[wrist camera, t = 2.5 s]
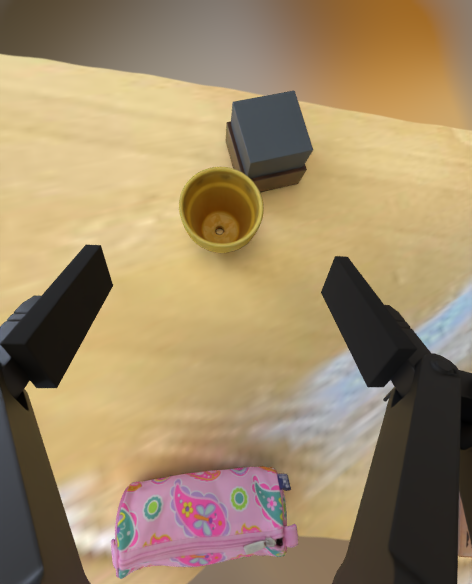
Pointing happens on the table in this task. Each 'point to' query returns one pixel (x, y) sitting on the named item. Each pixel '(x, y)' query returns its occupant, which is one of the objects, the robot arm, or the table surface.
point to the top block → (270, 134)
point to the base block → (267, 180)
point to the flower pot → (221, 209)
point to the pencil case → (202, 519)
